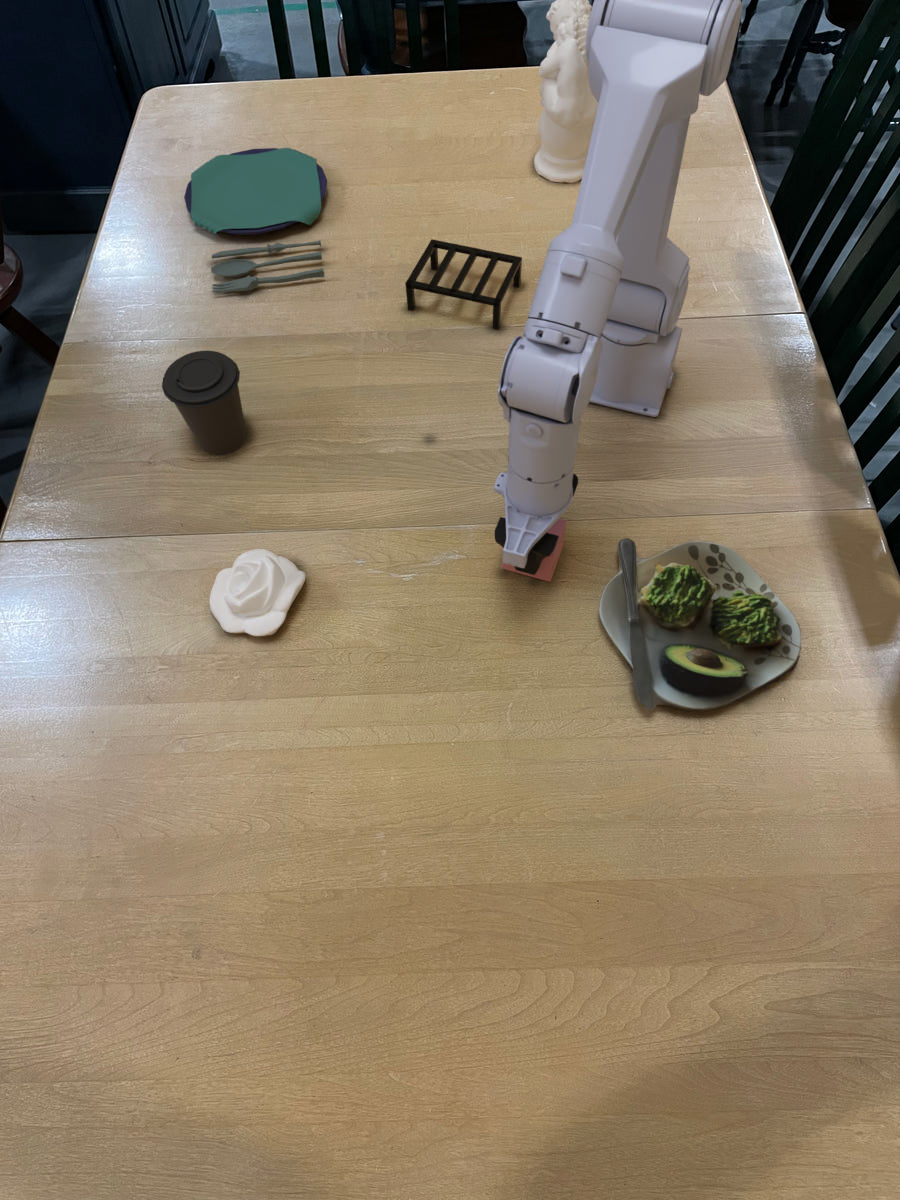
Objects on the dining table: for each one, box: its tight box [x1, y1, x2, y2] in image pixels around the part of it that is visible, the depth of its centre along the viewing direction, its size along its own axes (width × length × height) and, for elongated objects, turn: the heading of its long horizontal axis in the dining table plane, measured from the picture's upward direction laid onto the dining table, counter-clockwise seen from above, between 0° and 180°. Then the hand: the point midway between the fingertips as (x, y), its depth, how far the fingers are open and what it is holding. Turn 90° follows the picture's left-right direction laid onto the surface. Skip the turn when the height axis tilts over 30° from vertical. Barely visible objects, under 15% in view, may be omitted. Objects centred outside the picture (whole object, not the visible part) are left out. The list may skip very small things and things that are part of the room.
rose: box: [208, 548, 307, 637], centre depth 82 cm, size 10×4×10 cm
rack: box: [405, 238, 523, 331], centre depth 105 cm, size 12×9×4 cm
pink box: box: [501, 518, 567, 583], centre depth 83 cm, size 5×4×4 cm
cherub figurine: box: [533, 0, 598, 184], centre depth 112 cm, size 12×12×22 cm
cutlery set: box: [183, 147, 328, 294], centre depth 116 cm, size 20×30×2 cm, turn 9°
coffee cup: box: [161, 350, 247, 456], centre depth 92 cm, size 8×8×10 cm
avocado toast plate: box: [598, 537, 802, 713], centre depth 79 cm, size 19×18×5 cm
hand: (533, 549), depth 84 cm, fingers closed on pink box, 4 cm apart
